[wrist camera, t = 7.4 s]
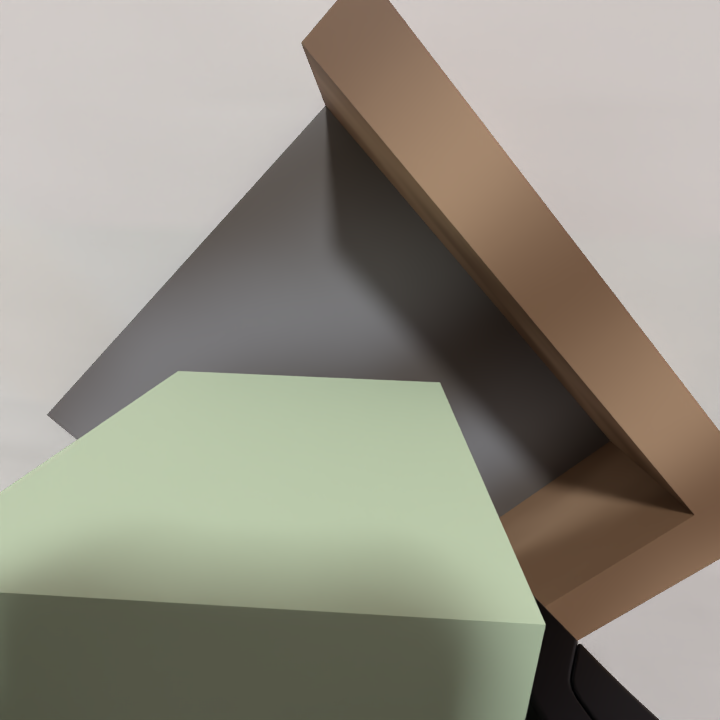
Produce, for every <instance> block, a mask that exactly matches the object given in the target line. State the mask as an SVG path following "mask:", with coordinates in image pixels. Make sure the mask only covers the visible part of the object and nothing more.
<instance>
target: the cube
mask: <svg viewBox="0 0 720 720" xmlns="http://www.w3.org/2000/svg"><path fill="white" fill-rule="evenodd" d="M545 626H546V624H545V622H544V619H543V617H542V615H541V613H540V610H539V608H538V606H537V603H536V601H535V599H534V597H533V594H532V592H531V590H530V587H529V585H528V583H527V581H526V578H525V576H524V574H523V571H522V569H521V567H520V565H519V562H518V560H517V558H516V555H515V553H514V551H513V549H512V546H511V544H510V542H509V539H508V537H507V535H506V532H505V530H504V528H503V526H502V523H501V521H500V519H499V516H498V514H497V512H496V510H495V507H494V505H493V503H492V500H491V498H490V496H489V494H488V491H487V489H486V487H485V484H484V482H483V480H482V478H481V475H480V473H479V471H478V468H477V466H476V464H475V462H474V459H473V457H472V455H471V452H470V450H469V448H468V446H467V443H466V441H465V439H464V436H463V434H462V432H461V429H460V427H459V425H458V423H457V420H456V418H455V416H454V413H453V411H452V409H451V407H450V404H449V402H448V400H447V397H446V395H445V393H444V391H443V388H442V386H441V384H440V382H419V381H396V380H373V379H350V378H327V377H305V376H282V375H259V374H236V373H213V372H190V371H177V372H176V373H175V374H173V375H172V376H170V377H169V378H167V379H166V380H164V381H163V382H161V383H160V384H158V385H157V386H155V387H154V388H153V389H151V390H150V391H148V392H147V393H145V394H144V395H142V396H141V397H139V398H138V399H136V400H135V401H133V402H132V403H131V404H129V405H128V406H126V407H125V408H123V409H122V410H120V411H119V412H117V413H116V414H114V415H113V416H111V417H110V418H109V419H107V420H106V421H104V422H103V423H101V424H100V425H98V426H97V427H95V428H94V429H92V430H91V431H89V432H88V433H87V434H85V435H84V436H82V437H81V438H79V439H78V440H76V441H75V442H73V443H72V444H70V445H69V446H67V447H66V448H65V449H63V450H62V451H60V452H59V453H57V454H56V455H54V456H53V457H51V458H50V459H48V460H47V461H46V462H44V463H43V464H41V465H40V466H38V467H37V468H35V469H34V470H32V471H31V472H29V473H28V474H26V475H25V476H24V477H22V478H21V479H19V480H18V481H16V482H15V483H13V484H12V485H10V486H9V487H7V488H6V489H4V490H3V491H2V492H0V720H525V718H526V713H527V709H528V704H529V699H530V695H531V690H532V686H533V681H534V676H535V672H536V667H537V663H538V658H539V653H540V649H541V644H542V640H543V635H544V631H545Z"/></svg>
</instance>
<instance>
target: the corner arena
mask: <svg viewBox="0 0 720 720" xmlns="http://www.w3.org/2000/svg"><path fill="white" fill-rule="evenodd" d="M302 46H303V49H304V51H305V54H306V56H307V59H308V62H309V64H310V67H311V69H312V72H313V74H314V77H315V80H316V82H317V85H318V87H319V90H320V92H321V95H322V98H323V100H324V103H325V105H326V106H325V107H324V108H323V109H322V110H321V111H320V113H319V114H318V115H317V116H316V117H315V118H314V119H313V120H312V121H311V123H310V124H309V125H308V126H307V127H306V128H305V129H304V130H303V131H302V132H301V134H300V135H299V136H298V137H297V138H296V139H295V140H294V141H293V142H292V144H291V145H290V146H289V147H288V148H287V149H286V150H285V151H284V152H283V154H282V155H281V156H280V157H279V158H278V159H277V160H276V161H275V162H274V164H273V165H272V166H271V167H270V168H269V169H268V170H267V171H266V172H265V174H264V175H263V176H262V177H261V178H260V179H259V180H258V181H257V182H256V184H255V185H254V186H253V187H252V188H251V189H250V190H249V191H248V192H247V194H246V195H245V196H244V197H243V198H242V199H241V200H240V201H239V202H238V204H237V205H236V206H235V207H234V208H233V209H232V210H231V211H230V212H229V213H228V215H227V216H226V217H225V218H224V219H223V220H222V221H221V222H220V223H219V225H218V226H217V227H216V228H215V229H214V230H213V231H212V232H211V233H210V235H209V236H208V237H207V238H206V239H205V240H204V241H203V242H202V243H201V245H200V246H199V247H198V248H197V249H196V250H195V251H194V252H193V253H192V255H191V256H190V257H189V258H188V259H187V260H186V261H185V262H184V263H183V265H182V266H181V267H180V268H179V269H178V270H177V271H176V272H175V273H174V275H173V276H172V277H171V278H170V279H169V280H168V281H167V282H166V283H165V285H164V286H163V287H162V288H161V289H160V290H159V291H158V292H157V293H156V294H155V296H154V297H153V298H152V299H151V300H150V301H149V302H148V303H147V304H146V306H145V307H144V308H143V309H142V310H141V311H140V312H139V313H138V314H137V316H136V317H135V318H134V319H133V320H132V321H131V322H130V323H129V324H128V326H127V327H126V328H125V329H124V330H123V331H122V332H121V333H120V334H119V336H118V337H117V338H116V339H115V340H114V341H113V342H112V343H111V344H110V346H109V347H108V348H107V349H106V350H105V351H104V352H103V353H102V354H101V356H100V357H99V358H98V359H97V360H96V361H95V362H94V363H93V364H92V366H91V367H90V368H89V369H88V370H87V371H86V372H85V373H84V374H83V375H82V377H81V378H80V379H79V380H78V381H77V382H76V383H75V384H74V385H73V387H72V388H71V389H70V390H69V391H68V392H67V393H66V394H65V395H64V397H63V398H62V399H61V400H60V401H59V402H58V403H57V404H56V405H55V407H54V408H53V409H52V410H51V411H50V412H49V413H48V414H47V415H48V416H49V417H50V418H51V419H53V420H54V421H55V422H56V423H57V424H59V425H60V426H61V427H62V428H64V429H65V430H66V431H67V432H68V433H70V434H71V435H72V436H73V437H75V438H76V439H77V440H78V439H79V438H81V437H82V436H84V435H85V434H87V433H88V432H89V431H91V430H92V429H94V428H95V427H97V426H98V425H100V424H101V423H103V422H104V421H106V420H107V419H109V418H110V417H111V416H113V415H114V414H116V413H117V412H119V411H120V410H122V409H123V408H125V407H126V406H128V405H129V404H131V403H132V402H133V401H135V400H136V399H138V398H139V397H141V396H142V395H144V394H145V393H147V392H148V391H150V390H151V389H153V388H154V387H155V386H157V385H158V384H160V383H161V382H163V381H164V380H166V379H167V378H169V377H170V376H172V375H173V374H175V373H176V372H177V371H190V372H213V373H236V374H259V375H282V376H305V377H327V378H350V379H373V380H396V381H419V382H440V384H441V386H442V388H443V391H444V393H445V395H446V397H447V400H448V402H449V404H450V407H451V409H452V411H453V413H454V416H455V418H456V420H457V423H458V425H459V427H460V429H461V432H462V434H463V436H464V439H465V441H466V443H467V446H468V448H469V450H470V452H471V455H472V457H473V459H474V462H475V464H476V466H477V468H478V471H479V473H480V475H481V478H482V480H483V482H484V484H485V487H486V489H487V491H488V494H489V496H490V498H491V500H492V503H493V505H494V507H495V510H496V512H497V514H498V516H499V519H500V521H501V523H502V526H503V528H504V530H505V532H506V535H507V537H508V539H509V542H510V544H511V546H512V549H513V551H514V553H515V555H516V558H517V560H518V562H519V565H520V567H521V569H522V571H523V574H524V576H525V578H526V581H527V583H528V585H529V587H530V590H531V592H532V594H533V595H534V596H535V598H536V599H537V600H538V601H539V602H540V603H541V604H542V605H543V606H544V607H545V608H546V609H547V610H548V611H549V612H550V613H551V614H552V615H553V616H554V617H555V618H556V619H557V620H558V621H559V622H560V623H561V624H562V625H563V626H564V627H565V628H566V629H567V630H568V631H569V632H570V633H571V634H572V635H573V636H574V638H575V639H576V640H577V641H578V640H579V639H581V638H583V637H585V636H586V635H588V634H590V633H592V632H593V631H595V630H597V629H599V628H600V627H602V626H604V625H606V624H607V623H609V622H611V621H612V620H614V619H616V618H618V617H619V616H621V615H623V614H625V613H626V612H628V611H630V610H632V609H633V608H635V607H637V606H639V605H640V604H642V603H644V602H645V601H647V600H649V599H651V598H652V597H654V596H656V595H658V594H659V593H661V592H663V591H665V590H666V589H668V588H670V587H672V586H673V585H675V584H677V583H679V582H680V581H682V580H684V579H685V578H687V577H689V576H691V575H692V574H694V573H696V572H698V571H699V570H701V569H703V568H705V567H706V566H708V565H710V564H712V563H713V562H715V561H717V560H718V559H720V431H719V430H718V429H717V427H716V426H715V425H714V423H713V422H712V421H711V419H710V418H709V417H708V416H707V414H706V413H705V412H704V410H703V409H702V408H701V406H700V405H699V404H698V403H697V401H696V400H695V399H694V397H693V396H692V395H691V393H690V392H689V391H688V390H687V388H686V387H685V386H684V384H683V383H682V382H681V380H680V379H679V378H678V376H677V375H676V374H675V373H674V371H673V370H672V369H671V367H670V366H669V365H668V363H667V362H666V361H665V360H664V358H663V357H662V356H661V354H660V353H659V352H658V350H657V349H656V348H655V347H654V345H653V344H652V343H651V341H650V340H649V339H648V337H647V336H646V335H645V333H644V332H643V331H642V330H641V328H640V327H639V326H638V324H637V323H636V322H635V320H634V319H633V318H632V317H631V315H630V314H629V313H628V311H627V310H626V309H625V307H624V306H623V305H622V304H621V302H620V301H619V300H618V298H617V297H616V296H615V294H614V293H613V292H612V290H611V289H610V288H609V287H608V285H607V284H606V283H605V281H604V280H603V279H602V277H601V276H600V275H599V274H598V272H597V271H596V270H595V268H594V267H593V266H592V264H591V263H590V262H589V261H588V259H587V258H586V257H585V255H584V254H583V253H582V251H581V250H580V249H579V247H578V246H577V245H576V244H575V242H574V241H573V240H572V238H571V237H570V236H569V234H568V233H567V232H566V231H565V229H564V228H563V227H562V225H561V224H560V223H559V221H558V220H557V219H556V218H555V216H554V215H553V214H552V212H551V211H550V210H549V208H548V207H547V206H546V204H545V203H544V202H543V201H542V199H541V198H540V197H539V195H538V194H537V193H536V191H535V190H534V189H533V188H532V186H531V185H530V184H529V182H528V181H527V180H526V178H525V177H524V176H523V175H522V173H521V172H520V171H519V169H518V168H517V167H516V165H515V164H514V163H513V161H512V160H511V159H510V158H509V156H508V155H507V154H506V152H505V151H504V150H503V148H502V147H501V146H500V145H499V143H498V142H497V141H496V139H495V138H494V137H493V135H492V134H491V133H490V132H489V130H488V129H487V128H486V126H485V125H484V124H483V122H482V121H481V120H480V118H479V117H478V116H477V115H476V113H475V112H474V111H473V109H472V108H471V107H470V105H469V104H468V103H467V102H466V100H465V99H464V98H463V96H462V95H461V94H460V92H459V91H458V90H457V89H456V87H455V86H454V85H453V83H452V82H451V81H450V79H449V78H448V77H447V75H446V74H445V73H444V72H443V70H442V69H441V68H440V66H439V65H438V64H437V62H436V61H435V60H434V59H433V57H432V56H431V55H430V53H429V52H428V51H427V49H426V48H425V47H424V46H423V44H422V43H421V42H420V40H419V39H418V38H417V36H416V35H415V34H414V32H413V31H412V30H411V29H410V27H409V26H408V25H407V23H406V22H405V21H404V19H403V18H402V17H401V16H400V14H399V13H398V12H397V10H396V9H395V8H394V6H393V5H392V4H391V3H390V1H389V0H337V1H336V2H335V4H334V5H333V6H332V7H331V8H330V10H329V11H328V12H327V13H326V14H325V15H324V17H323V18H322V19H321V20H320V21H319V23H318V24H317V25H316V26H315V27H314V28H313V30H312V31H311V32H310V33H309V34H308V36H307V37H306V38H305V39H304V40H303V41H302Z"/></svg>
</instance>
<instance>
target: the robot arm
mask: <svg viewBox="0 0 720 720" xmlns="http://www.w3.org/2000/svg"><path fill="white" fill-rule="evenodd" d="M533 597H534V599H535V601H536V603H537V606H538V608H539V610H540V613H541V615H542V617H543V619H544V622H545V624H546V626H545V631H544V635H543V640H542V644H541V649H540V653H539V658H538V663H537V667H536V672H535V676H534V681H533V686H532V690H531V695H530V699H529V704H528V709H527V713H526V718H525V720H659V719H658V718H657V717H656V716H655V715H654V714H652V713H651V712H650V711H649V710H648V709H647V708H646V707H645V706H644V705H643V704H642V703H640V702H639V701H638V700H637V699H636V698H635V697H634V696H633V695H632V694H631V693H630V692H629V691H628V690H626V689H625V688H624V687H623V686H622V685H621V684H620V683H619V682H618V681H617V680H616V679H615V678H614V677H613V676H612V675H611V674H610V673H609V672H608V671H607V670H606V669H605V668H604V667H603V666H602V665H601V664H600V663H599V662H598V661H597V660H596V659H595V658H594V657H593V656H592V655H591V654H590V653H589V652H588V651H587V650H586V649H585V648H584V647H583V645H581V644H578V641H577V640H576V639H575V638H574V636H573V635H572V634H571V633H570V632H569V631H568V630H567V629H566V628H565V627H564V626H563V625H562V624H561V623H560V622H559V621H558V620H557V619H556V618H555V617H554V616H553V615H552V614H551V613H550V612H549V611H548V610H547V609H546V608H545V607H544V606H543V605H542V604H541V603H540V602H539V601H538V600H537V599H536V598H535V596H534V595H533Z"/></svg>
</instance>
